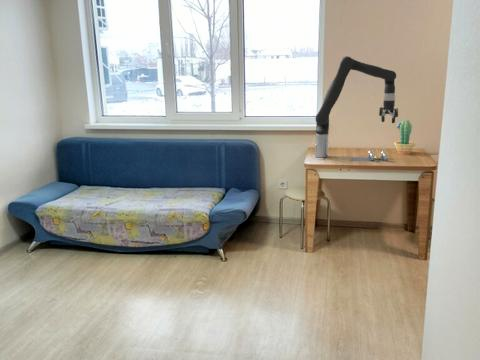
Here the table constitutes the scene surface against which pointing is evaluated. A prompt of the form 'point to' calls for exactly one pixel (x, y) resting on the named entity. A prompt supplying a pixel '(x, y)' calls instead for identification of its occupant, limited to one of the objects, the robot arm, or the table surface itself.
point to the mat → (362, 159)
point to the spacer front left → (372, 156)
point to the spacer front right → (385, 157)
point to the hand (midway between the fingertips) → (388, 122)
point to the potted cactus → (404, 138)
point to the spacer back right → (382, 154)
